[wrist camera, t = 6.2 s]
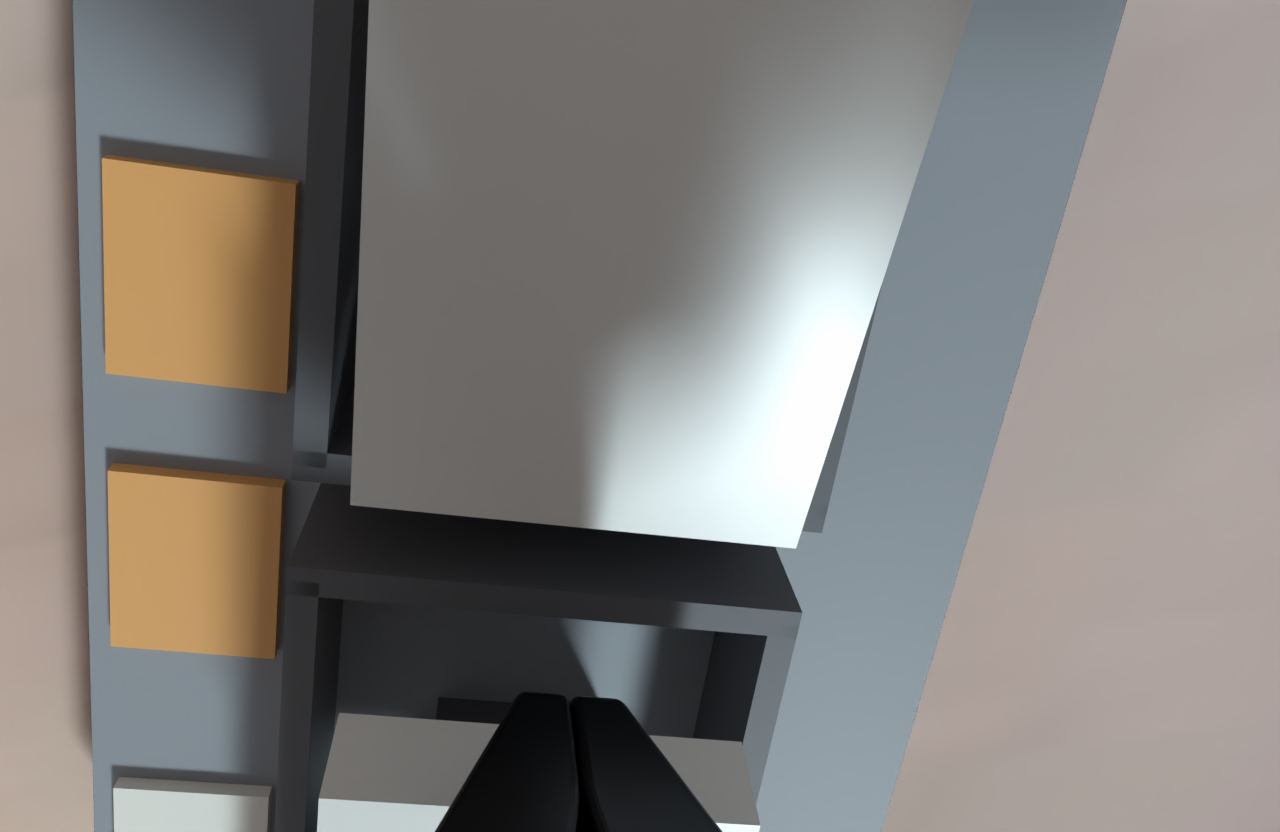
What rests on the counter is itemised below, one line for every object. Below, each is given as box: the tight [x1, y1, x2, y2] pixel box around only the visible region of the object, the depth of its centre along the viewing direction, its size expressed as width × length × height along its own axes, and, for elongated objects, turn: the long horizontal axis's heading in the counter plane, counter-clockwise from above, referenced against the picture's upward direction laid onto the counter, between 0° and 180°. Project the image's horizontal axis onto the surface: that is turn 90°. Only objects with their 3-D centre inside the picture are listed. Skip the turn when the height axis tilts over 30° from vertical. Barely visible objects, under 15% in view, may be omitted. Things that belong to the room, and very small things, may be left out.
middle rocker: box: [350, 0, 974, 549], centre depth 8 cm, size 4×5×1 cm
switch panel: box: [73, 0, 1127, 832], centre depth 11 cm, size 10×23×4 cm, turn 171°
